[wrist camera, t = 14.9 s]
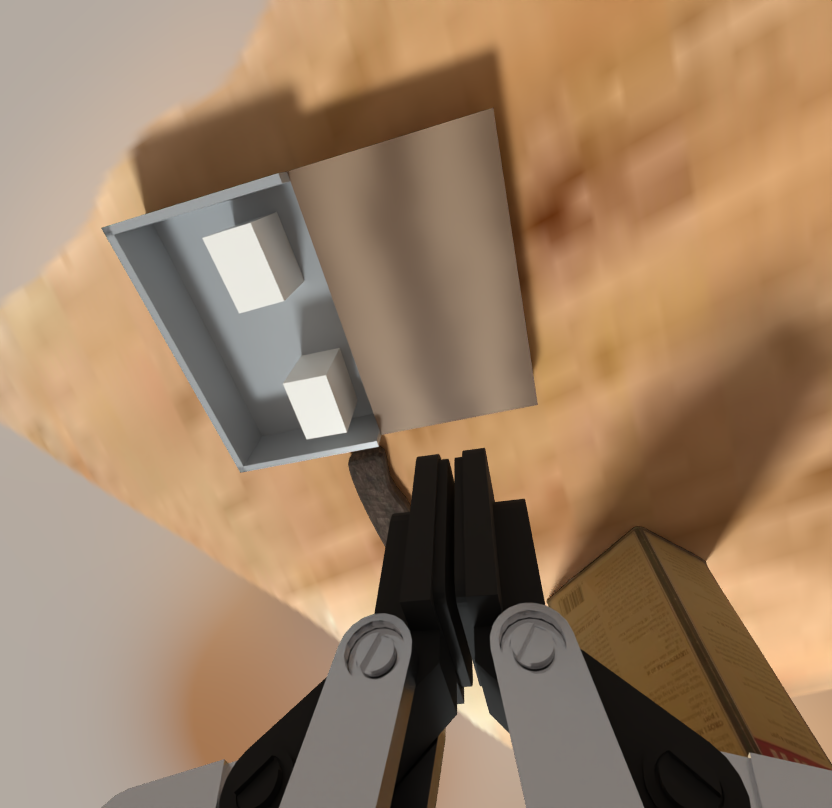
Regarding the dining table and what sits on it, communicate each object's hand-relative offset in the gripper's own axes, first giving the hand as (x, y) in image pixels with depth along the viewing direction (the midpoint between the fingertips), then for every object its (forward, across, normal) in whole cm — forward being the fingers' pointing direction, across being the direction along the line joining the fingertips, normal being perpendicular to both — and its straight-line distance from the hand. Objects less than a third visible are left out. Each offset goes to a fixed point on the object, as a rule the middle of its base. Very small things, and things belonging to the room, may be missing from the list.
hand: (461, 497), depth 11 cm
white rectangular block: (+19, +10, -4) cm, 22 cm away
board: (+22, +2, +1) cm, 22 cm away
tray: (+22, +13, +1) cm, 26 cm away
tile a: (+19, +9, +6) cm, 22 cm away
